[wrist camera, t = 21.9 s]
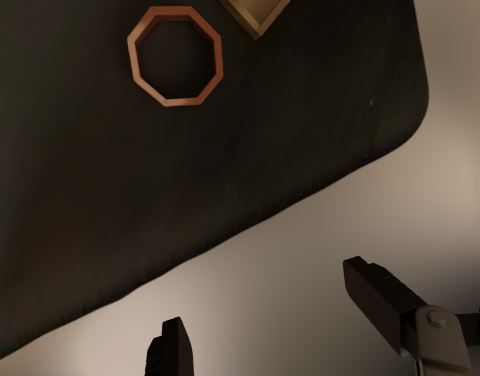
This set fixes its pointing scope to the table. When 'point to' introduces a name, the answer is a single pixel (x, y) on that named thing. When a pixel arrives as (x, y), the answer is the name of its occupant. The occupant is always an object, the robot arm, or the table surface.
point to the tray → (254, 13)
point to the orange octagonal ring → (174, 15)
